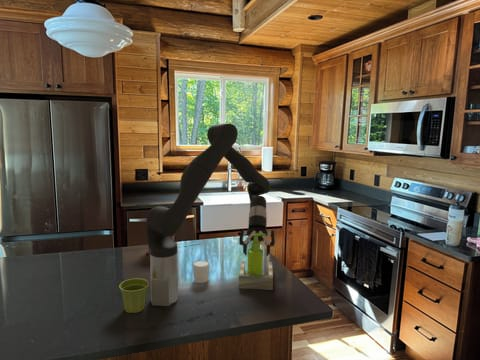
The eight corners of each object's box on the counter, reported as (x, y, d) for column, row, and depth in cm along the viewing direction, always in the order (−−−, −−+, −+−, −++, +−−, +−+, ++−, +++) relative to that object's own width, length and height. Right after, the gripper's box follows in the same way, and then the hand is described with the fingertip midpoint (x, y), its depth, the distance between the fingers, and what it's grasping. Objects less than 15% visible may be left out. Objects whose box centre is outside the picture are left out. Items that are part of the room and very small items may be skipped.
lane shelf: (272, 289, 127) (273, 277, 127) (238, 288, 128) (238, 275, 127) (271, 270, 145) (271, 259, 144) (241, 269, 145) (241, 258, 145)
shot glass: (189, 281, 133) (189, 264, 132) (199, 275, 139) (199, 258, 138) (203, 285, 130) (203, 268, 129) (213, 278, 136) (213, 262, 135)
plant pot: (138, 298, 118) (138, 275, 117) (155, 308, 113) (154, 283, 111) (114, 309, 111) (113, 284, 110) (130, 319, 105) (129, 293, 104)
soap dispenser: (265, 285, 131) (266, 236, 128) (247, 285, 131) (248, 235, 128) (264, 279, 136) (265, 231, 134) (247, 278, 137) (248, 231, 134)
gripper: (240, 213, 139) (238, 249, 129) (275, 215, 138) (275, 251, 128) (241, 222, 145) (238, 258, 135) (274, 224, 144) (274, 259, 134)
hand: (256, 254), depth 132 cm, fingers open, 8 cm apart
